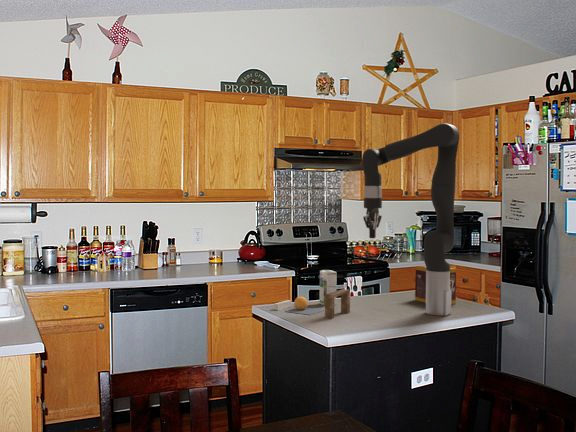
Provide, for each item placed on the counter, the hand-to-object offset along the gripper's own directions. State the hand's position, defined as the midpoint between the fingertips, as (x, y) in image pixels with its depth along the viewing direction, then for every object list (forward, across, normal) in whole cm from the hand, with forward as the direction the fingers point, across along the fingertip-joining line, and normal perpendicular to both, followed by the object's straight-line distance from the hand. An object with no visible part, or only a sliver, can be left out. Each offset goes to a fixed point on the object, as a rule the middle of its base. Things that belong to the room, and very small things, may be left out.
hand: (372, 238), depth 258 cm
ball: (+26, -23, +21) cm, 41 cm away
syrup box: (+29, -6, +18) cm, 35 cm away
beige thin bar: (+29, -24, +29) cm, 48 cm away
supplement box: (+29, +26, -18) cm, 43 cm away
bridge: (+29, -24, +3) cm, 38 cm away
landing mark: (+29, -24, +18) cm, 42 cm away
